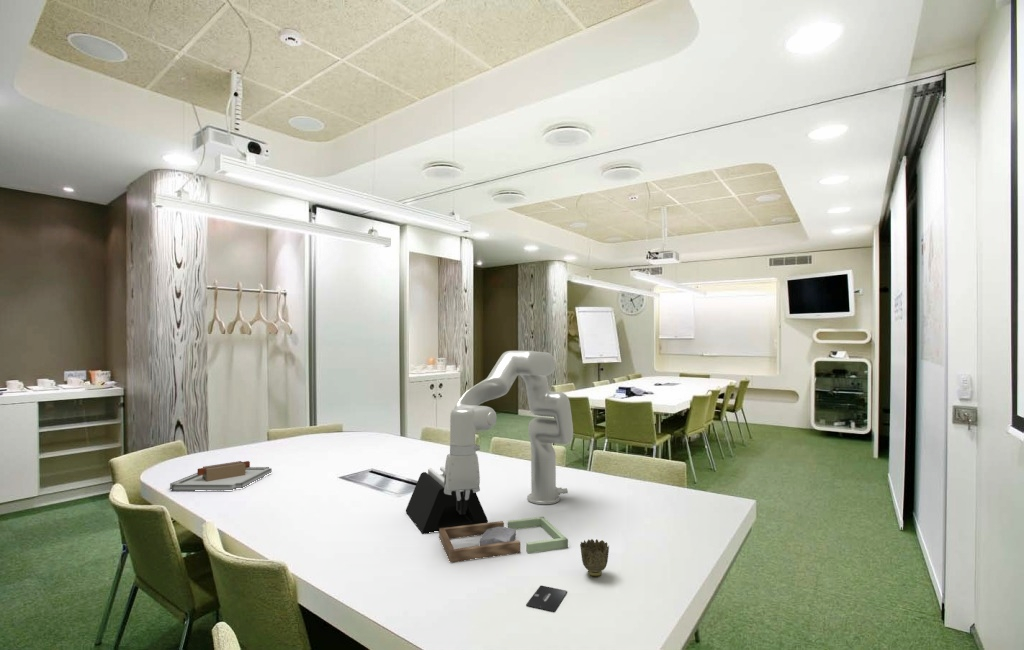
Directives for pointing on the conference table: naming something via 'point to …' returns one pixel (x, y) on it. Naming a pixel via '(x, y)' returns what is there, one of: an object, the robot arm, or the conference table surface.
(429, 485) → the device stand
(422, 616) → the conference table surface
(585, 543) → the cup
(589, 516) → the conference table surface
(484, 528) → the brown wooden u frame
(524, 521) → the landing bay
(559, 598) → the solid state drive
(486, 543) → the stone block
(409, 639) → the conference table surface
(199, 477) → the grey flat square tray
